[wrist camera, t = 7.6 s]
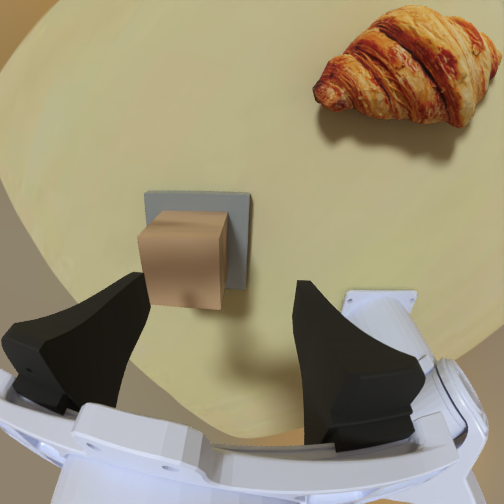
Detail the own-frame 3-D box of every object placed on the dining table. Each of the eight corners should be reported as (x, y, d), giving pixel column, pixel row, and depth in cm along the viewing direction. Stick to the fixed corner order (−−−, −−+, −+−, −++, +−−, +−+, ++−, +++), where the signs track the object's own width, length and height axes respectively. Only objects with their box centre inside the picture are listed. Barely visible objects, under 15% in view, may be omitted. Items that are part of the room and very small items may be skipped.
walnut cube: (228, 271, 22) (220, 309, 18) (168, 268, 22) (149, 304, 18) (227, 211, 20) (218, 239, 15) (162, 210, 20) (137, 236, 15)
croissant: (454, 32, 14) (476, -12, 6) (513, 109, 13) (552, 76, 6) (286, 80, 19) (269, 13, 11) (353, 183, 18) (375, 142, 10)
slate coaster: (245, 284, 23) (245, 290, 23) (156, 278, 23) (154, 283, 23) (249, 192, 20) (249, 195, 19) (147, 190, 20) (144, 193, 19)
